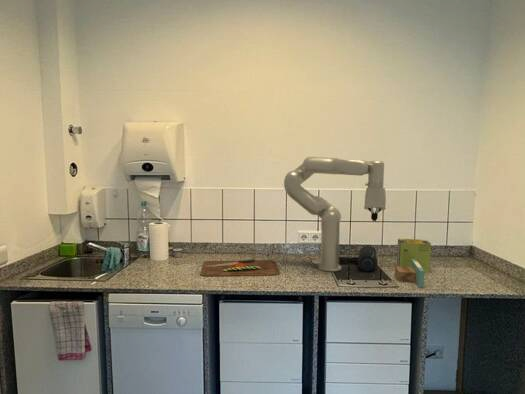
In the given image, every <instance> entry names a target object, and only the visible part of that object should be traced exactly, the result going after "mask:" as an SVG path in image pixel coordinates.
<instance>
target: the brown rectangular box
mask: <svg viewBox="0 0 525 394" xmlns="http://www.w3.org/2000/svg"><path fill="white" fill-rule="evenodd" d="M394 269H395V270H394V271H395V273H394V277H395V278H396V279H397V282H400V283H403V282H404V283H415V284H416V272H415V270H414V269H413V268H412V267H400V266H397V265H396V266H395V268H394Z"/></svg>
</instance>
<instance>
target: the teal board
mask: <svg viewBox="0 0 525 394" xmlns="http://www.w3.org/2000/svg"><path fill="white" fill-rule="evenodd" d="M411 267H412V268H413V269H414V270H415V272H416V283H415V284H416V285H417V287H418V288H419V289H420V288H423V289H424V287H425V271H424V270H423V268H422V267H421V265H420V264H419V263H418V262H417V261H416V260H412V259H411Z"/></svg>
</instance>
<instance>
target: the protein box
mask: <svg viewBox="0 0 525 394" xmlns="http://www.w3.org/2000/svg"><path fill="white" fill-rule="evenodd" d="M431 249H432V244H431V242H430V241H429V240H428V239H420V238H419V239H417V238H397V250H396V251H397V252H396V253H397V256H396V257H397V258H396V266H400V267H411V259H412V260H416V261H417V262H418V263H419V264H420V265H421V267H422V268H423V270H424V271H425V273H426V274H427V273H428V274H429V273H430V268H431V252H432V251H431ZM425 273H424V274H425Z"/></svg>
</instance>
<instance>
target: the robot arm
mask: <svg viewBox="0 0 525 394" xmlns="http://www.w3.org/2000/svg"><path fill="white" fill-rule="evenodd" d="M314 174H323V175H324V174H326V175H346V176H361V177H362V176H364V175H367V176H368V179H367V182H365V184H364V185H365V186H367V187H366V189H365V195H364V206H363V208H364V210H368V211H369V212H370V213H371V215H370V220H372V222H376V221H377V220H378V217H379V216H378V215H379V213H380V212H381V211H384V210H386V209H387V208H386V203H387V202H386V199H387V197H386V188H385V187H384V177H385V176H384V174H385V162H384V161H382V160H370V161H369V160H363V159H362V160H357V159H356V160H354V159H342V158H341V159H340V158H337V157H336V158H335V157H322V156H321V157H319V156H308V157H306V158H305V159H304V160H303V162H302V163H301V164H300V165H299V166H298V167H296V168H295V169H294V170H291V171H288V173H286V175H285V177H284V181H283V186H284V190H285V193H286V195H288V197H290V198H291V199H292V200H293V201H294V202H295V203H297V204H298V205H299V206H300V207H302V208H303V209H304V210H305V211H306V212H308V213H309V214H310V215H313V216H317V217H319V218H320V221H321V222H320V226H321V227H320V228H321V230H320V231H321V232H320V233H321V235H320V239H321V240H320V241H321V242H320V258H319V259H312V261H311V263H312V264H314V265H317V268H318V270H321V271H322V272H323V271H324V272H338V271H341V270H342V269H343V268H342V266H341V265H340V263H339V262H340V233H341V232H340V230H341V229H340V227H341V224H340V223H341V220H342V214H341V212H340V210H339V209H338V208H337V207H335V206H334V205H332V204H331V203H329V202H328V201H327V200H326V199H324V198H323V197H321V196H318V195H314V194H312V193H311V192H309V191H308V190H307V189H305V188H304V187H303V186H302V184H303V183H305V182H306V181H307V180H308V179H309V178H311V177H312V176H313V175H314ZM374 208H375V211H374Z"/></svg>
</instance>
